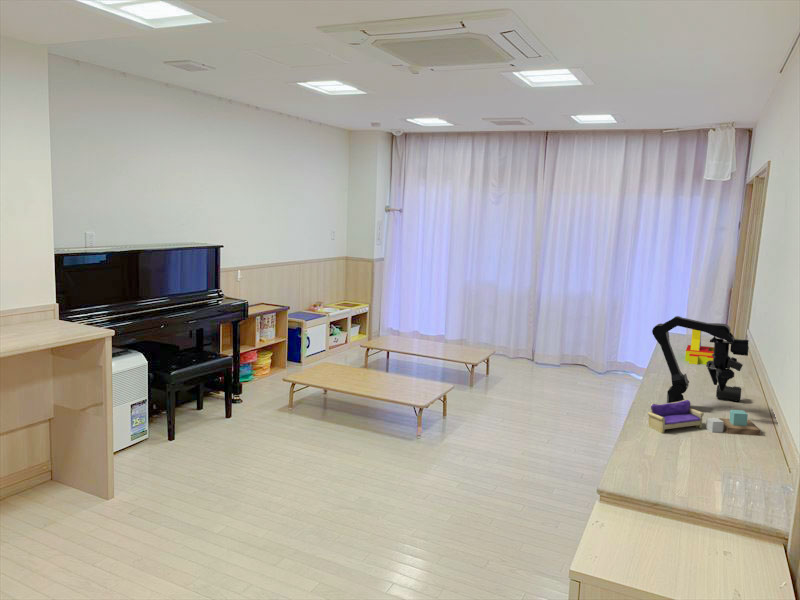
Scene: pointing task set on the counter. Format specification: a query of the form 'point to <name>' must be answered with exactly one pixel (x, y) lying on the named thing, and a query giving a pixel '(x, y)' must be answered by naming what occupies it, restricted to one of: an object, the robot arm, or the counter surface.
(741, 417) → the teal block
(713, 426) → the grey cube
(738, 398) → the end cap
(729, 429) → the base block
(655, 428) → the toy sofa
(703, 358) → the building blocks toy
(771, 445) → the counter surface
